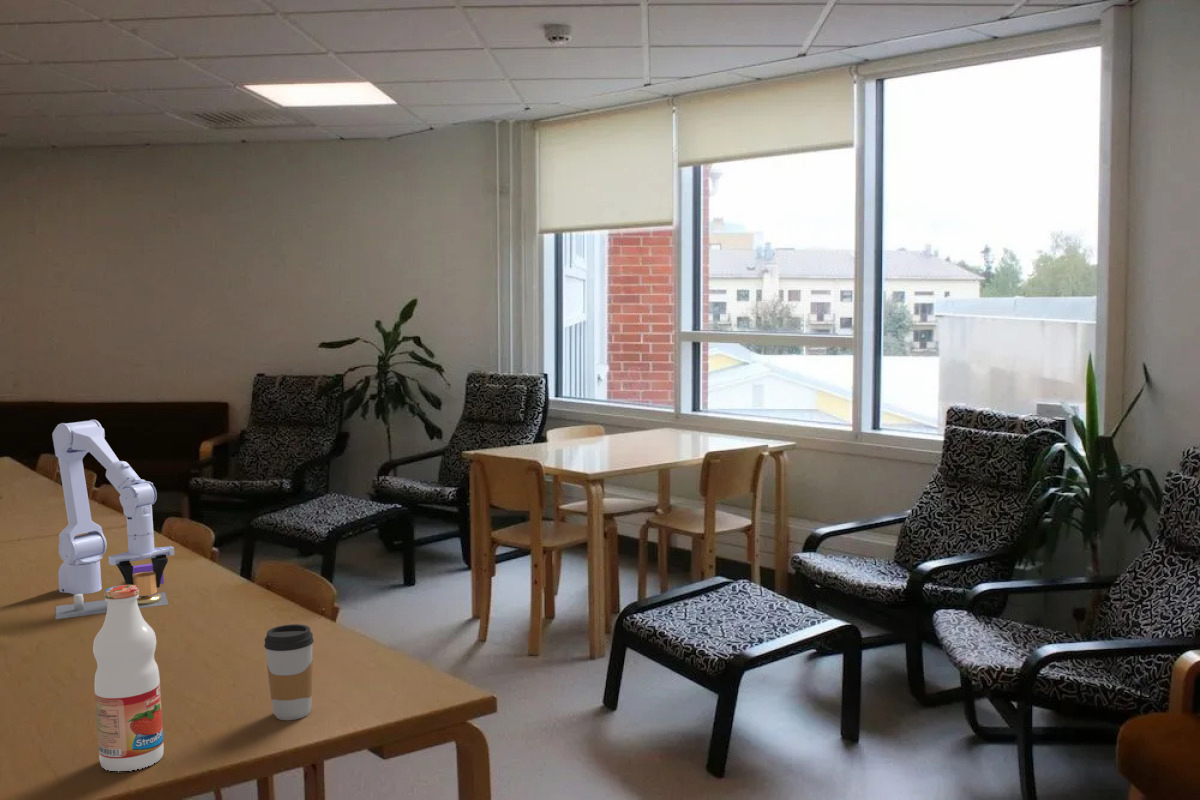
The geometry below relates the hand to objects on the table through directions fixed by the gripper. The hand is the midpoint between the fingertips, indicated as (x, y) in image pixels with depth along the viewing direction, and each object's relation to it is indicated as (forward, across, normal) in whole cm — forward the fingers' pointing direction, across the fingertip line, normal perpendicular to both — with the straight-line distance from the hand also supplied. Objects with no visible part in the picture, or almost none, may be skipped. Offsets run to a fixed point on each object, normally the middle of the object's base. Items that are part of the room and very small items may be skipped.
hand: (143, 589), depth 257 cm
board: (+4, -7, +2) cm, 8 cm away
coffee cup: (+5, -3, -88) cm, 89 cm away
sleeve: (+1, 0, 0) cm, 1 cm away
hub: (+3, 0, 0) cm, 3 cm away
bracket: (+5, +7, +20) cm, 22 cm away
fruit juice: (+5, -30, -89) cm, 94 cm away
